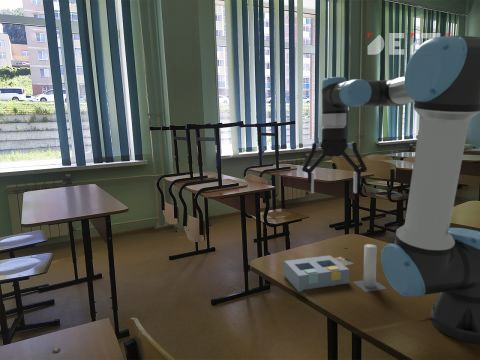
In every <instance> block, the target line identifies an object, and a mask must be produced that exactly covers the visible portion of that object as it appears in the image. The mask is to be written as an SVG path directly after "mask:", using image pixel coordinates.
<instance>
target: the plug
mask: <svg viewBox="0 0 480 360" xmlns="http://www.w3.org/2000/svg"><path fill="white" fill-rule="evenodd" d="M363 247H364V248H363V251H364V252H363V278H362V280H363V285H364V286H365V287H369V288H373V287H375V284H376V281H377V278H376V276H377V252H378V251H377V249H378V247H377V245H375V244H371V243H369V244H368V243H367V244H364V246H363Z"/></svg>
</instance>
